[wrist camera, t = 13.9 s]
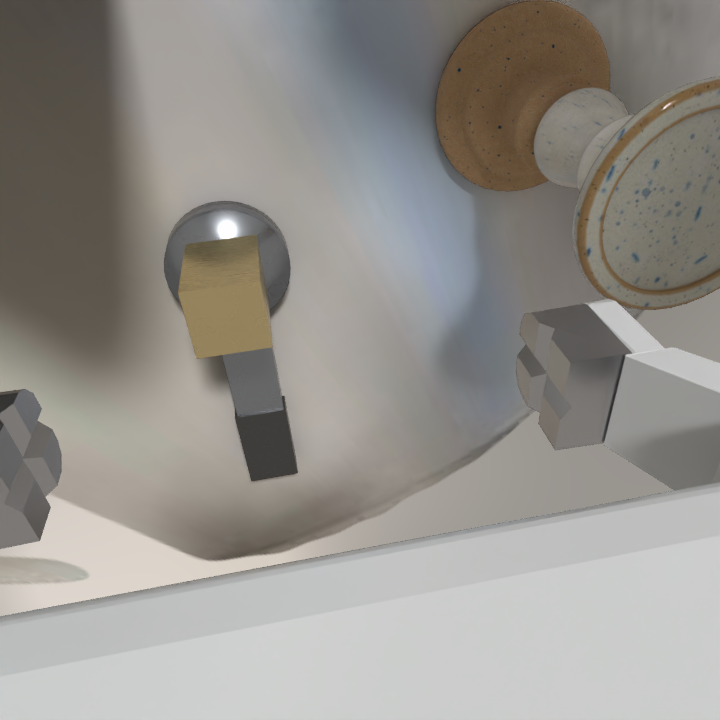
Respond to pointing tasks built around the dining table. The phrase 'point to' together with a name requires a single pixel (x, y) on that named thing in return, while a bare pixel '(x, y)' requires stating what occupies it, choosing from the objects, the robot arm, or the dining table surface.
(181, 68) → the dining table surface
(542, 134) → the candle holder
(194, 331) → the tan rectangular block
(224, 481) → the dining table surface
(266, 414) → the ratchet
